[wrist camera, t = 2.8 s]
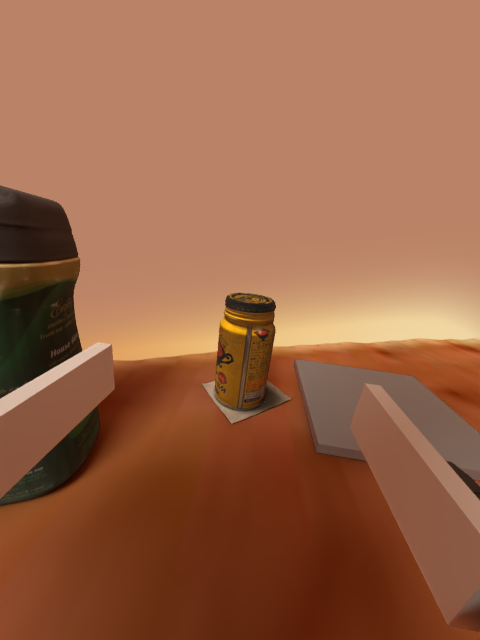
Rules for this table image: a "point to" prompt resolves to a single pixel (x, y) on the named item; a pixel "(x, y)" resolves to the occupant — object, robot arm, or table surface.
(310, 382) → the plain gray board
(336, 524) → the table surface
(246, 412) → the condiment
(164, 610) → the table surface
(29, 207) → the coffee jar
